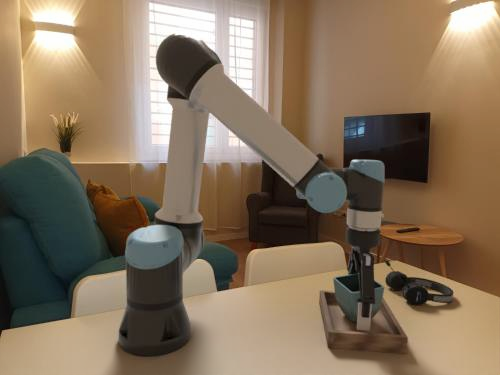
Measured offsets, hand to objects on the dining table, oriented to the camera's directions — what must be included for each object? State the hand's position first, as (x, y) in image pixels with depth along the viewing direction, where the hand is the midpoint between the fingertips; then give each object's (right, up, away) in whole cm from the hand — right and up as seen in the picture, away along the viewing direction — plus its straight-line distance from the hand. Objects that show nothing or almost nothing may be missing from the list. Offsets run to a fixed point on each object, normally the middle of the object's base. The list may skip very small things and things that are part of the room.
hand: (357, 315), depth 88 cm
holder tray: (0, -2, 0) cm, 2 cm away
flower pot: (0, -1, +2) cm, 2 cm away
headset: (+22, -1, +19) cm, 29 cm away
